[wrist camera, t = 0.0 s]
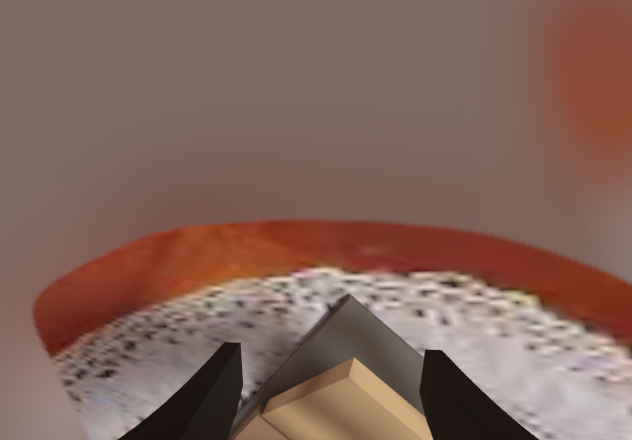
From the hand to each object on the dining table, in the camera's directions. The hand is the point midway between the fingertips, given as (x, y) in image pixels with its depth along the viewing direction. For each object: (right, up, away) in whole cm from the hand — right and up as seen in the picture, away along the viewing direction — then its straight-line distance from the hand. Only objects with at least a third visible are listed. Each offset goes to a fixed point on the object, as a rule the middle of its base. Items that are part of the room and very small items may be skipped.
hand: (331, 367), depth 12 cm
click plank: (+3, -8, +8) cm, 12 cm away
